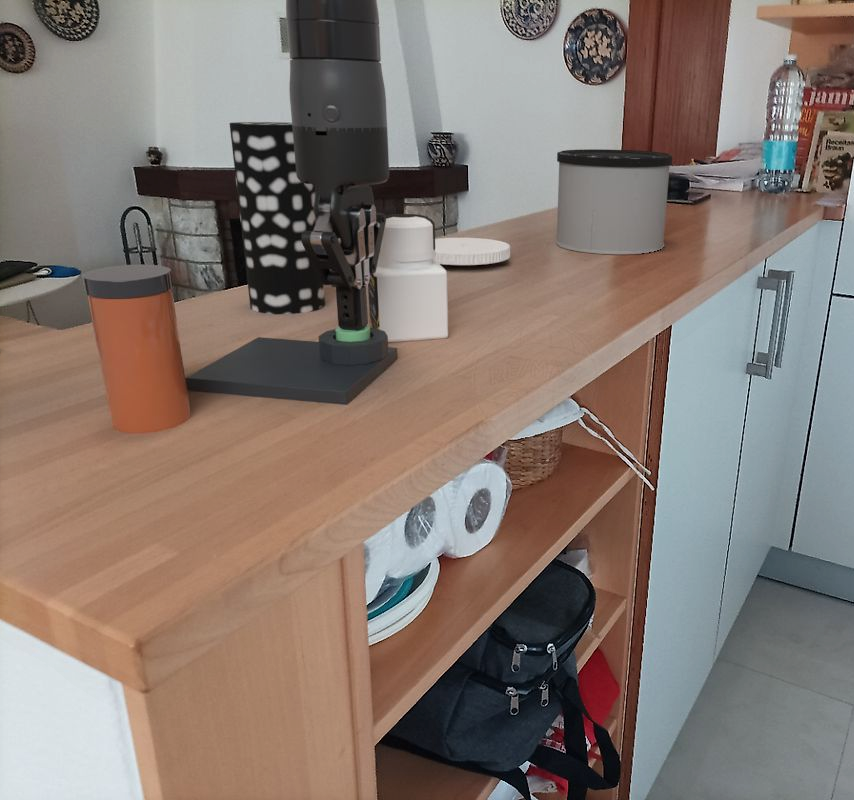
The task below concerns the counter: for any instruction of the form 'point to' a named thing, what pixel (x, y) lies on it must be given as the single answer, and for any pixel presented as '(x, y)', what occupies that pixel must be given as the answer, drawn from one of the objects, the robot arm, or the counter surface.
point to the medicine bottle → (409, 282)
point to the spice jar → (138, 346)
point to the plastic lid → (470, 251)
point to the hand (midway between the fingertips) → (353, 327)
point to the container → (612, 200)
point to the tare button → (353, 334)
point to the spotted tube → (274, 219)
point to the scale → (298, 368)
